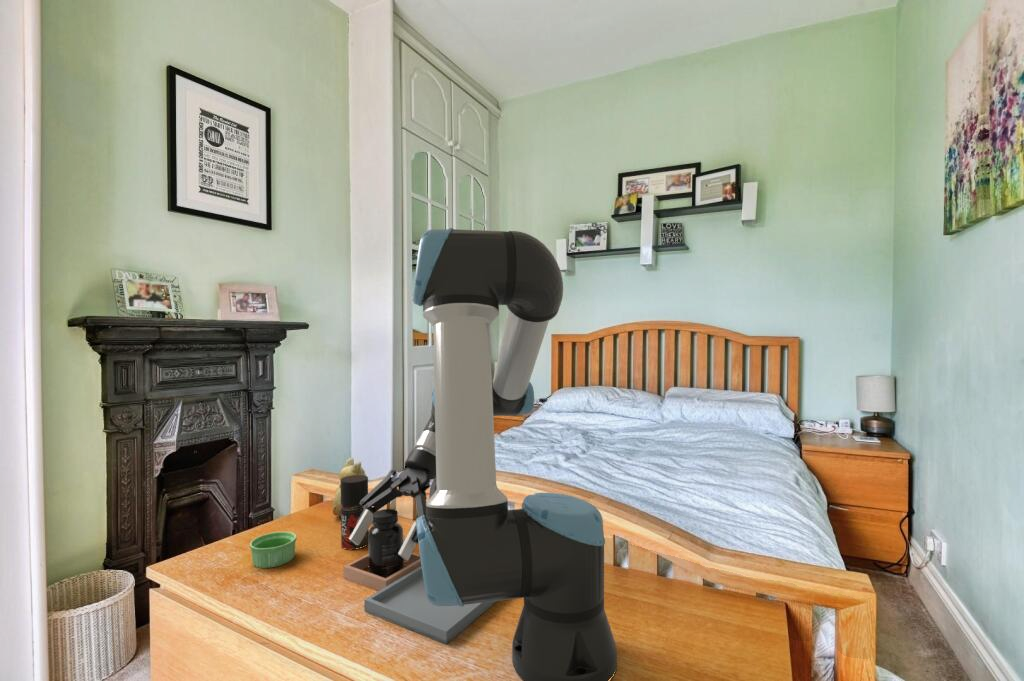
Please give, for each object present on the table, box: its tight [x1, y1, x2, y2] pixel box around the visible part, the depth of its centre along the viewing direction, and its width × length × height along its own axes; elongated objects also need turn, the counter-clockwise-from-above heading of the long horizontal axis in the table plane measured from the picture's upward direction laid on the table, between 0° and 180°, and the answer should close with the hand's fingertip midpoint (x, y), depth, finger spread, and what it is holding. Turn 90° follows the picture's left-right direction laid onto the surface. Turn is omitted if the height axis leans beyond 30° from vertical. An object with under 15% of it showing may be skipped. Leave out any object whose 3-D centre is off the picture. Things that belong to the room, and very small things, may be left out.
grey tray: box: [363, 566, 498, 645], centre depth 88 cm, size 18×18×2 cm
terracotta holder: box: [342, 552, 421, 591], centre depth 99 cm, size 12×12×2 cm
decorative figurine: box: [332, 457, 367, 517], centre depth 130 cm, size 10×8×15 cm
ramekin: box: [249, 531, 297, 569], centre depth 105 cm, size 9×9×4 cm
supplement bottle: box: [367, 508, 405, 578], centre depth 99 cm, size 7×7×12 cm
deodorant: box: [340, 475, 369, 549], centre depth 112 cm, size 6×6×15 cm
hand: (377, 549), depth 97 cm, fingers open, 13 cm apart
